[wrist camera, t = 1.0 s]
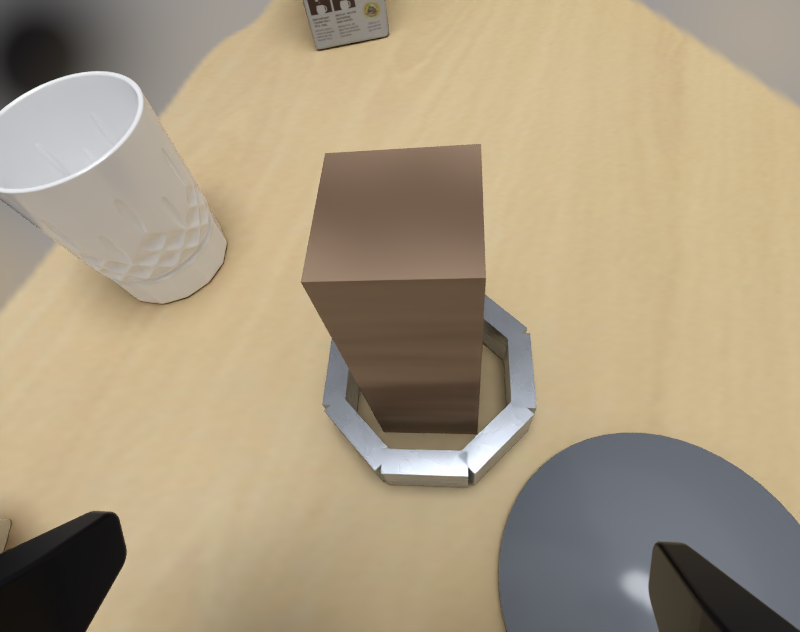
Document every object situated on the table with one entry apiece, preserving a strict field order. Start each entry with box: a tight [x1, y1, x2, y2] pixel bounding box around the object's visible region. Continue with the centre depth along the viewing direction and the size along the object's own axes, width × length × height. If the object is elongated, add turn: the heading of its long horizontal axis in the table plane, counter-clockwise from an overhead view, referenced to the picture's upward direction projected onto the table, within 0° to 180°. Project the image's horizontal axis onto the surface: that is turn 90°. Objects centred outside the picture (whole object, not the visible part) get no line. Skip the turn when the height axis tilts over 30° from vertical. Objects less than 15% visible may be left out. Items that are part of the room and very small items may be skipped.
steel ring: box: [322, 295, 536, 488], centre depth 22 cm, size 9×9×2 cm
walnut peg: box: [301, 144, 486, 434], centre depth 18 cm, size 4×4×13 cm
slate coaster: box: [498, 433, 800, 632], centre depth 18 cm, size 12×12×1 cm
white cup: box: [0, 71, 227, 304], centre depth 25 cm, size 8×8×10 cm
